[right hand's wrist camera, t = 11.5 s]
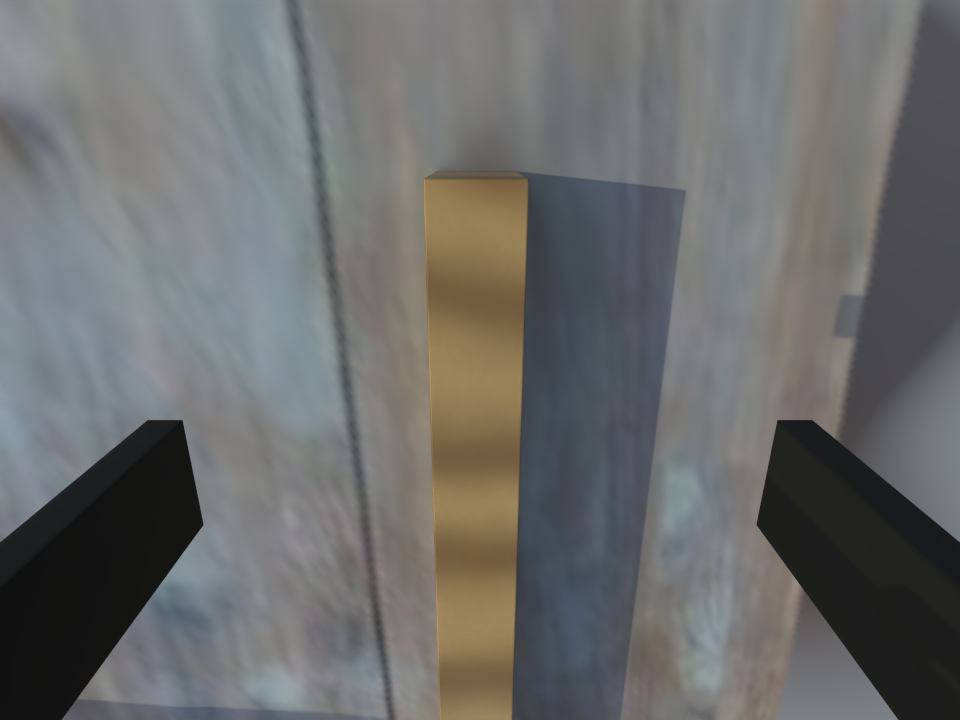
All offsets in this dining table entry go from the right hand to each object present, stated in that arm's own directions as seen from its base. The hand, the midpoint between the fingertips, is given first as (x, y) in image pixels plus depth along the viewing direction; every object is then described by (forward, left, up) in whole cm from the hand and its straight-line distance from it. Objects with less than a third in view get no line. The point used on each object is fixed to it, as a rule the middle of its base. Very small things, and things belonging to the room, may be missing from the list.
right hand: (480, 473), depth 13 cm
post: (+13, +21, -23) cm, 34 cm away
